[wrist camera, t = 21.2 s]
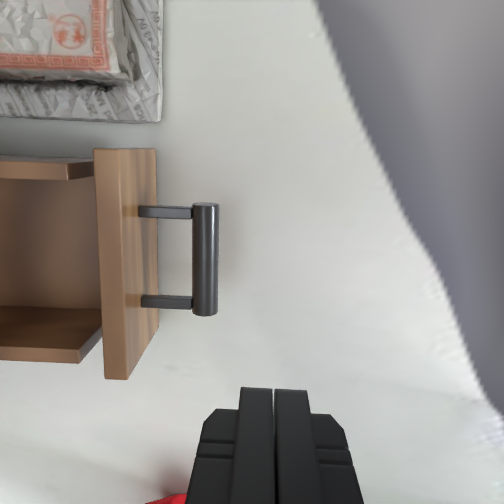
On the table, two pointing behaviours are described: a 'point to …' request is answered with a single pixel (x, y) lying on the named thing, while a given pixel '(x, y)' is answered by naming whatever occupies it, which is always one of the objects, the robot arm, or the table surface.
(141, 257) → the drawer
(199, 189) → the table surface
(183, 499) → the magnet
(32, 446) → the table surface
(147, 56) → the packaged product
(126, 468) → the table surface
